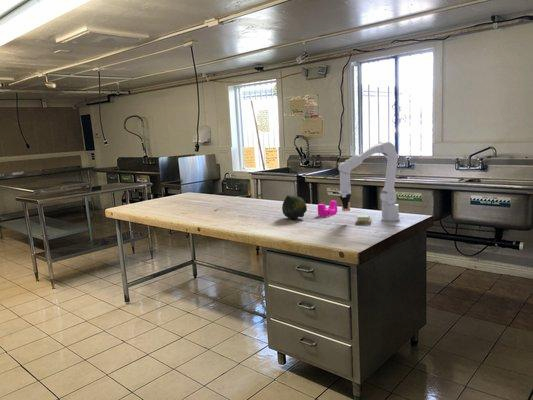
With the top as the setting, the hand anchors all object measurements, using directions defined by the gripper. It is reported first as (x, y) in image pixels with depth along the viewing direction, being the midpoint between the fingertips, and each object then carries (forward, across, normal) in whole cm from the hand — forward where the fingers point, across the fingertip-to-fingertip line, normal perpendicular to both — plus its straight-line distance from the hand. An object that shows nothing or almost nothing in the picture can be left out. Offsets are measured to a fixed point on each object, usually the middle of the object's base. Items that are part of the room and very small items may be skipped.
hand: (346, 207), depth 236 cm
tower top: (+7, 0, +10) cm, 12 cm away
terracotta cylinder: (+2, 0, 0) cm, 2 cm away
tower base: (+9, 0, +10) cm, 13 cm away
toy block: (+9, -22, -14) cm, 28 cm away
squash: (+9, -9, -33) cm, 35 cm away
